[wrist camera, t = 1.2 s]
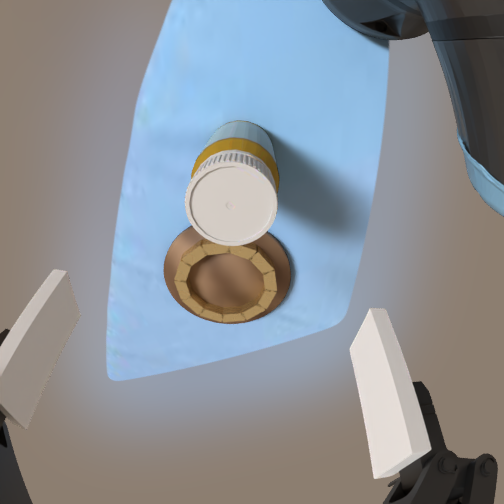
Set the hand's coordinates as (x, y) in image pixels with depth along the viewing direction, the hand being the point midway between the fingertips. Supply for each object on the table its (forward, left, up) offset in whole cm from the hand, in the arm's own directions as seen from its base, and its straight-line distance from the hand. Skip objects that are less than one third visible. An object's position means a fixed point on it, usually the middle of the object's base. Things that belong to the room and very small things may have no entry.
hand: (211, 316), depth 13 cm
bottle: (-1, 0, -25) cm, 25 cm away
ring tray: (+11, +12, -24) cm, 29 cm away
